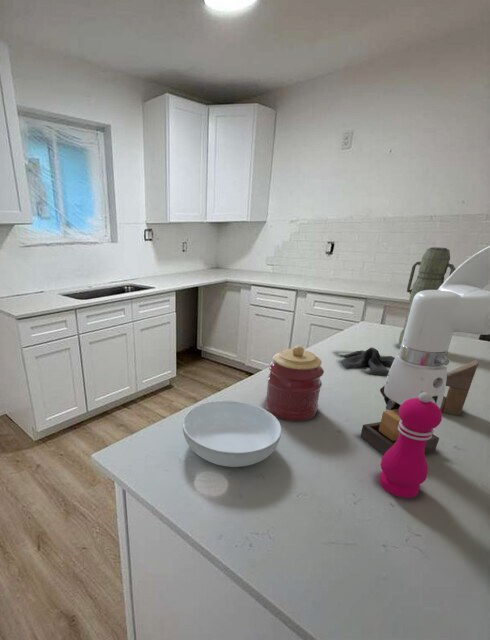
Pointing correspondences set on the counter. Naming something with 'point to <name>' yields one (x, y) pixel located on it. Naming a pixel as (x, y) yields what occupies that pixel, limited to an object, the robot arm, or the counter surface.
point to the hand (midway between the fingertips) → (399, 432)
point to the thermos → (428, 275)
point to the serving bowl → (231, 432)
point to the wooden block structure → (458, 387)
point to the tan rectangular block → (390, 424)
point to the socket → (384, 443)
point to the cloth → (368, 361)
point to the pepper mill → (410, 447)
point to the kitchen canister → (294, 384)
